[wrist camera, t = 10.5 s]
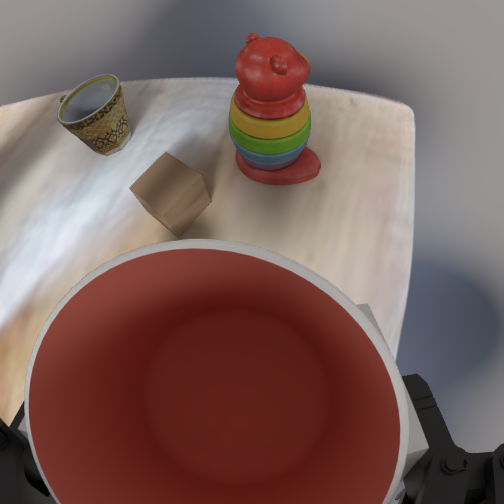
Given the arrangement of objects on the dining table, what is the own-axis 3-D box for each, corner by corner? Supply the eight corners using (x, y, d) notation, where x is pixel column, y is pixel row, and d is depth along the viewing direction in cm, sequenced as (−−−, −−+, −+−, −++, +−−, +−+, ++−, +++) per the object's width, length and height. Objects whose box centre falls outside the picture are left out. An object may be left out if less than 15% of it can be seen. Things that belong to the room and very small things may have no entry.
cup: (310, 290, 17) (358, 202, 7) (343, 461, 13) (417, 554, 4) (136, 321, 17) (13, 273, 7) (166, 484, 13) (77, 570, 4)
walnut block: (147, 211, 38) (129, 188, 32) (178, 178, 39) (165, 151, 33) (178, 237, 36) (162, 215, 31) (211, 202, 38) (201, 175, 32)
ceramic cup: (153, 122, 43) (132, 75, 34) (117, 171, 40) (85, 128, 31) (99, 111, 46) (77, 72, 36) (66, 154, 43) (36, 118, 33)
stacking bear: (325, 175, 38) (351, 63, 21) (251, 200, 37) (237, 87, 20) (290, 118, 41) (294, 13, 25) (224, 139, 41) (201, 31, 24)
